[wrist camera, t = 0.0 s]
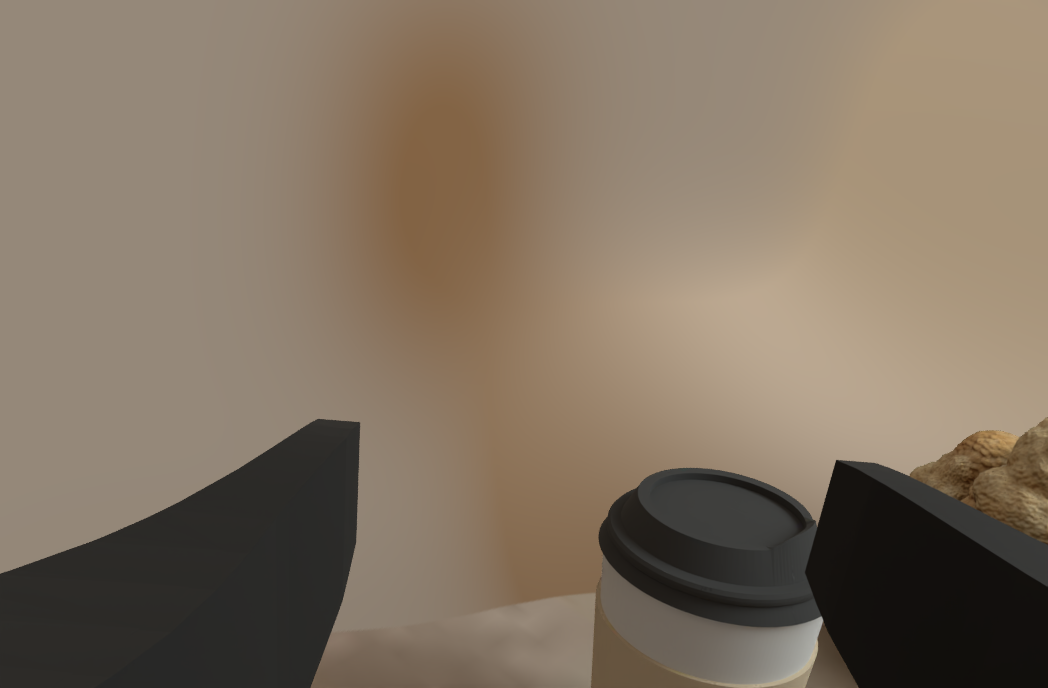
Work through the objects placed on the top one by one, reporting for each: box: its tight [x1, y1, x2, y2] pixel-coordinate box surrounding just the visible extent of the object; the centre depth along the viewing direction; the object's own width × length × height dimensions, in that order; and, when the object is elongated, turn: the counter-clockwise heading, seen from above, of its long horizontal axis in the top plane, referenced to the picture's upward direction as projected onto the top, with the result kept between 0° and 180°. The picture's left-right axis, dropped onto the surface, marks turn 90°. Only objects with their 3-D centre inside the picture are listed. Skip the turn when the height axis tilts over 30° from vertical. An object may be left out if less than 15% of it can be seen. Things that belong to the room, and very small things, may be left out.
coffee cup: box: [591, 468, 823, 688], centre depth 29 cm, size 9×9×15 cm
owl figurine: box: [909, 417, 1048, 545], centre depth 39 cm, size 18×12×17 cm, turn 27°
